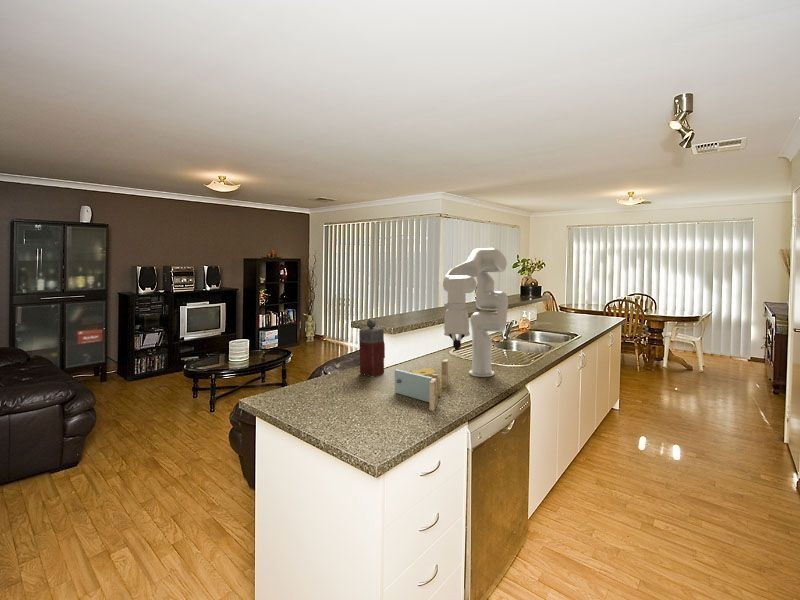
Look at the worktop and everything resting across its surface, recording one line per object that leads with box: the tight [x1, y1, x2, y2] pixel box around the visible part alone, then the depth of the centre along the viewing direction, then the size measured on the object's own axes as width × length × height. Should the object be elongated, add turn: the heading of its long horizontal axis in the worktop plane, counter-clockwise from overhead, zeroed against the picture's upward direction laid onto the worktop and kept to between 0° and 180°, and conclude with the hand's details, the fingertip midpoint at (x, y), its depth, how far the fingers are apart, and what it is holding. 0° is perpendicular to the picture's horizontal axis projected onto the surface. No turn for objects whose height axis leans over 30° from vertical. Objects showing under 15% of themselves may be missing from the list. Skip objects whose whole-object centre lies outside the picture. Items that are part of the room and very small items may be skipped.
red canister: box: [358, 318, 386, 377], centre depth 219 cm, size 9×11×28 cm
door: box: [394, 368, 432, 403], centre depth 180 cm, size 20×4×10 cm, turn 46°
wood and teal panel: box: [429, 358, 449, 412], centre depth 183 cm, size 40×2×12 cm, turn 166°
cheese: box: [409, 367, 442, 397], centre depth 185 cm, size 10×11×10 cm
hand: (457, 349), depth 183 cm, fingers closed
